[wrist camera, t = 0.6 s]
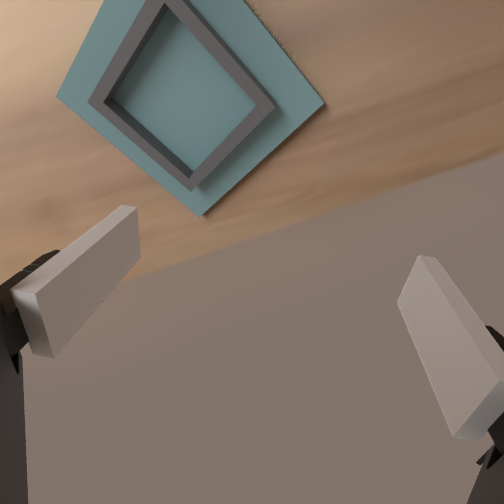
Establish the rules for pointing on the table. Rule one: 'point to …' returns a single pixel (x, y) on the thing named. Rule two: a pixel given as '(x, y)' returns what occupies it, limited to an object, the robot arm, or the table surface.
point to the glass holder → (188, 91)
